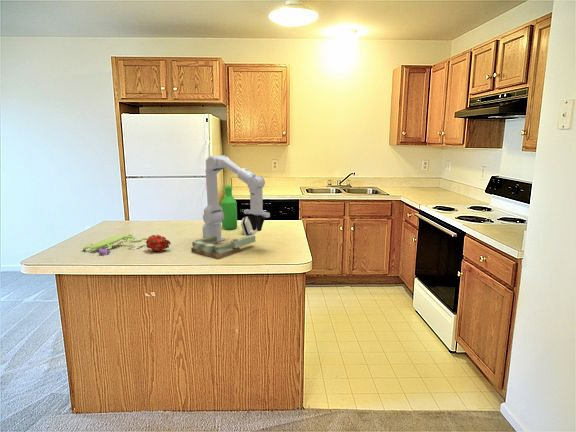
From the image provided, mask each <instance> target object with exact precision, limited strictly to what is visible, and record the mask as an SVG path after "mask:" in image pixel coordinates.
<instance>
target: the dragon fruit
mask: <svg viewBox="0 0 576 432" xmlns="http://www.w3.org/2000/svg"><path fill="white" fill-rule="evenodd" d="M145 243H146V245H145V246H146V248H147V249H151V250H152V252H156V251H157V252H166V249H169V248H170V245H172V243H171V241H170V240H169V239H167V238H166V237H165V236H161V235H160V234H157V235H155V234H151V235H149V236H148V237H147V240H145Z"/></svg>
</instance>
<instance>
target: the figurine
mask: <svg viewBox="0 0 576 432" xmlns="http://www.w3.org/2000/svg"><path fill="white" fill-rule="evenodd" d="M147 239H148V237H141V238H140V239H139V240H136V237H135V236H133V234H132V233H129V234H128V235H123V234H121V235H116V236H111V237H108V238H105V239H103V240H101V241H99V242H96V243H95V244H93V243H90V244H89V245H86V246H84V247H83V248H82V250H83V251H87V250H88V248H89V249H91V250H97V251H98V255H99V254H107V255H110V254H111V249H113V246H112V245H114V244H115V243H118V242H120V241H121V240H122V241H128V240H129V242H130V243H132V244H133V243H134V244H136V243H141V242H142V241H147ZM86 249H87V250H86ZM109 253H110V254H109Z"/></svg>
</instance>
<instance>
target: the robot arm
mask: <svg viewBox="0 0 576 432" xmlns="http://www.w3.org/2000/svg"><path fill="white" fill-rule="evenodd" d="M224 169H228V170H229V171H231V172H232V173H233V174H236V176H237V178H238V179H239V180H240V181H242V182H243V183H245V184H246V185H247V187H248V191H249V198H250V199H249V201H250V203H249V204H250V209H248V208H247V209H243V214H244V215H247V216H248V219H249V221H250V223H251V226H252V229H253V230H256V229H257V232H261V231H262V230H263V229H262V228H263V225H264V222H265V220H266V219H267V218H270V217H271V213H270V212H268V211H265V210H263V207H264V206H263V205H264V204H263V203H264V202H263V188H264V187H265V185H266V184H265V183H266V181H265V178H264V177H263V176H262V175H256V173H255V172H254V173H253V172H252V171H251V170H249V168H248V167H242V168H241V167H240V166H239V165H237V164H236V163H235V162H234V161H232V160H231V159H230V157H228V156H226V155H224V154H222V155H209V156H208V157H207V159H205V172H204V173H205V184H206V200H207V205H206V207H205V208H204V209H203V214H202V219H203V222H204V224H203V226H202V238H206V237H209V236H217V242H219V243H220V242H222V241H225V240H226V238H224V237H222V220H223V219H224V214H223V211H222V207H221V205H220V204H219V193H218V192H219V190H218V176H217V175H218V173H219V172H221V171H222V170H224Z"/></svg>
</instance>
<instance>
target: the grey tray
mask: <svg viewBox="0 0 576 432" xmlns="http://www.w3.org/2000/svg"><path fill="white" fill-rule="evenodd" d="M191 244H192V247H191V252H192V253H194V254H198V255H202V256H205V257H209V258H212V259H216V260H219V259H222V258H226V257H228V256H233V255H234V254H236V253H240V252H241V247H238V248H232V244H231V242H230V243H229V242H226V243H225V242H224V243H223V242H220V241H219V242H217V236H209V237H206V238H203V237H202V238H200V239H195V240H194V241H192V243H191Z"/></svg>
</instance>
